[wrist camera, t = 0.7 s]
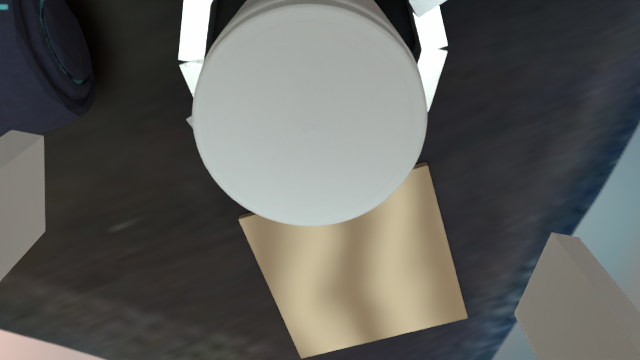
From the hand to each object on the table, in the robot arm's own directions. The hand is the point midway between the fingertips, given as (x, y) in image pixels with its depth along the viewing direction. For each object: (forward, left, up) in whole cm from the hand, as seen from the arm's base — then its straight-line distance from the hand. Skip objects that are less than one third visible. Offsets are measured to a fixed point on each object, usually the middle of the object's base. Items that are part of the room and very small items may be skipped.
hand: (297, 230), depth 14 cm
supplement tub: (0, 0, -23) cm, 23 cm away
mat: (+2, +17, -22) cm, 28 cm away
